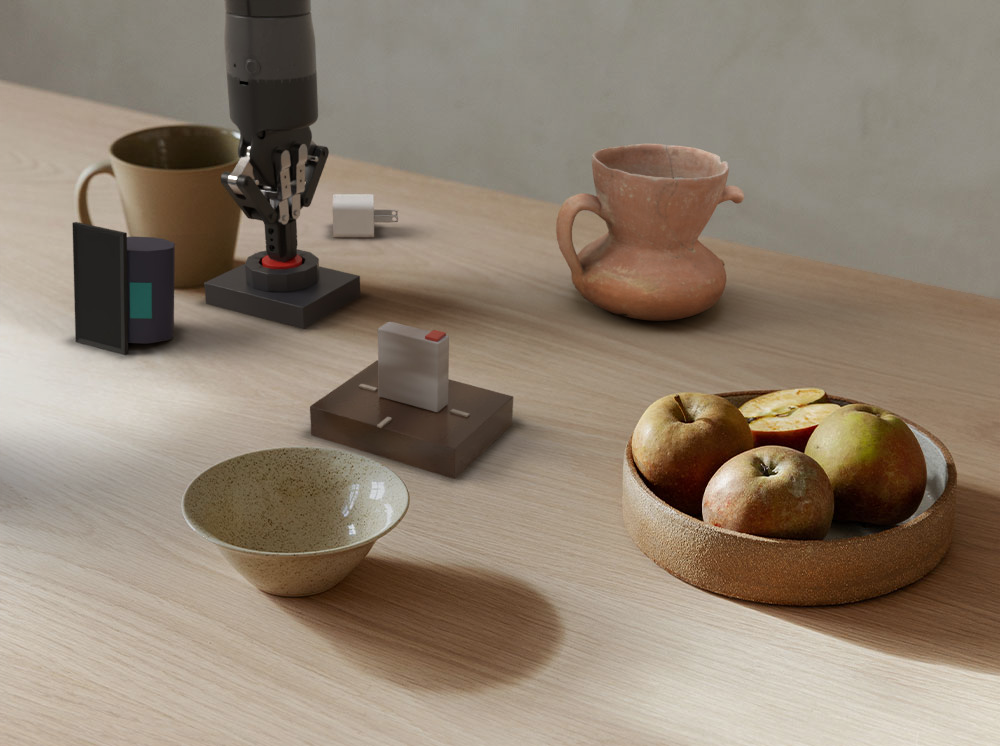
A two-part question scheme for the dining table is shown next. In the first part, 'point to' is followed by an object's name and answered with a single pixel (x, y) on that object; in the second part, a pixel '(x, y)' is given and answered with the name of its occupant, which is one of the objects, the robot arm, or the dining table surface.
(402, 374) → the block
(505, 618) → the dining table surface
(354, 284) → the switch block
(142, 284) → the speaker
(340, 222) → the usb wall charger
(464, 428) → the brown base plate
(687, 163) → the ceramic jug
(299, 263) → the power button
